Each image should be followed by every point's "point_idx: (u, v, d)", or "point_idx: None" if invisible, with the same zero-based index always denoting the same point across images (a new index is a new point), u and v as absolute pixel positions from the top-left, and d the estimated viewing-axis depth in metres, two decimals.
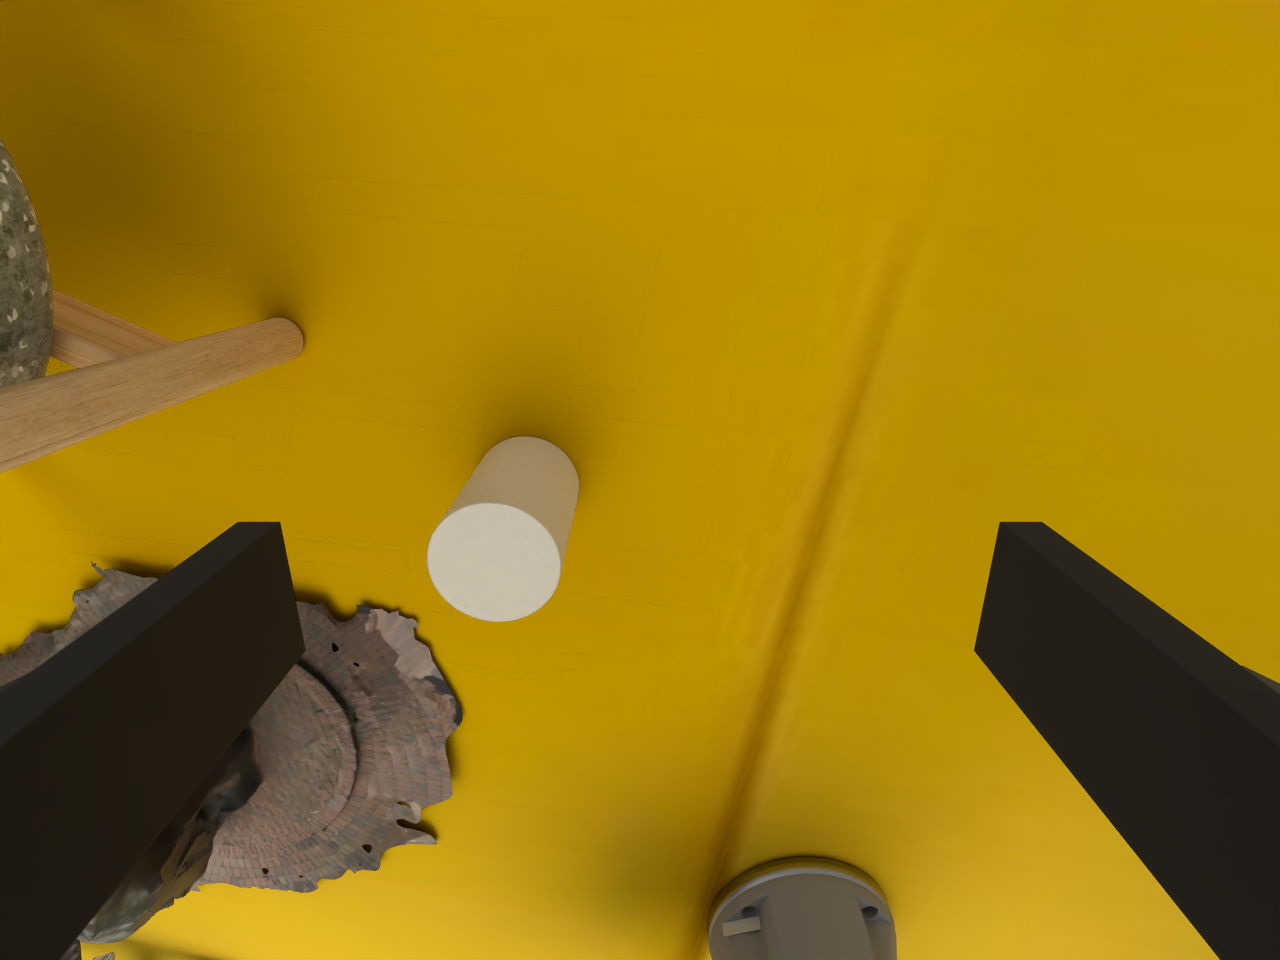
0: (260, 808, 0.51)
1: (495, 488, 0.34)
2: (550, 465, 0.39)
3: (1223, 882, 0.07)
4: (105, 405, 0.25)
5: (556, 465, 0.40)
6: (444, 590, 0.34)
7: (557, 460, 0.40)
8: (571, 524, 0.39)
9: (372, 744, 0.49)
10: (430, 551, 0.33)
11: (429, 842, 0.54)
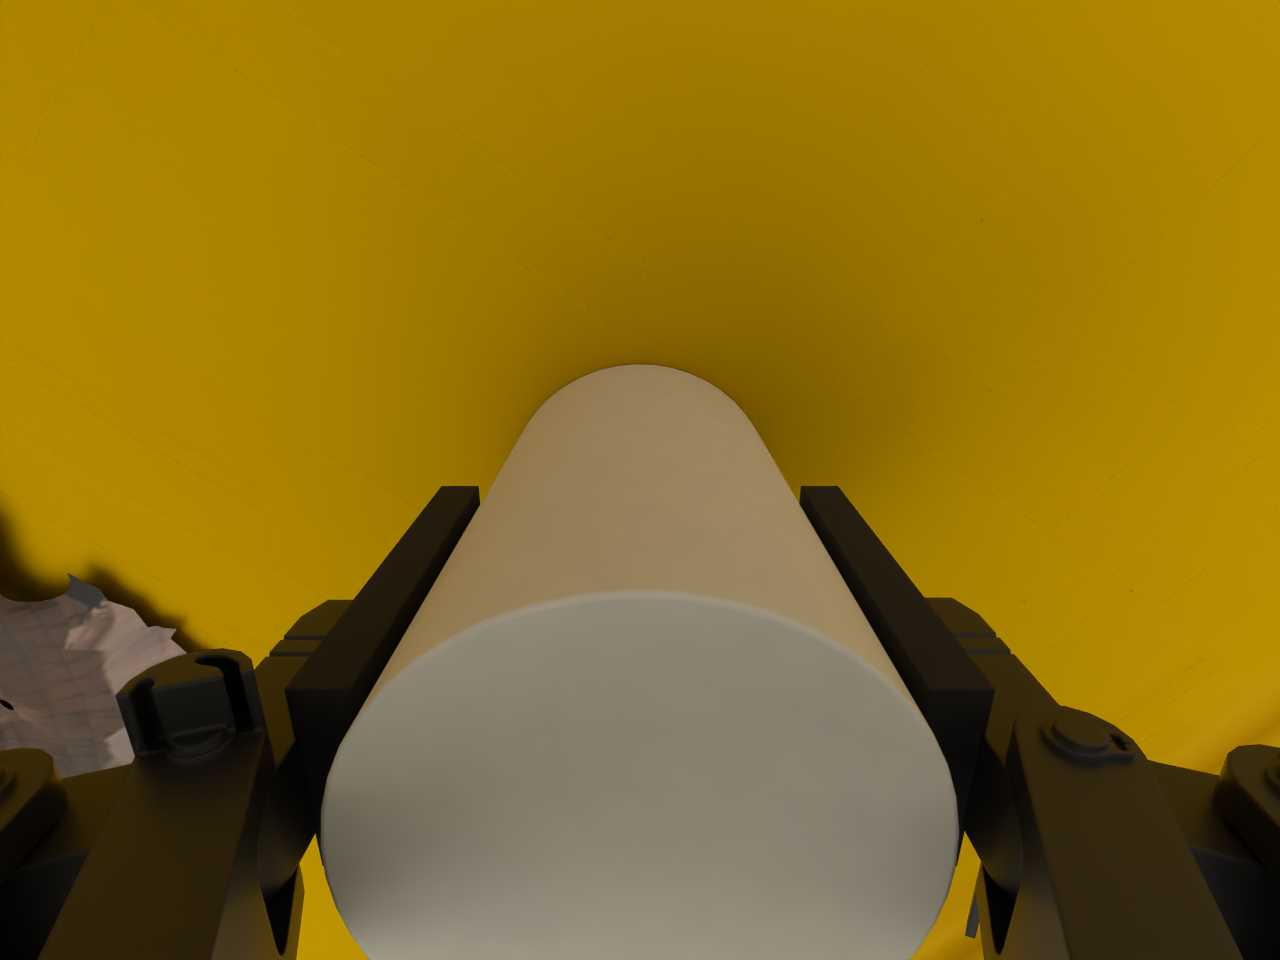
0: None
1: (766, 535, 0.08)
2: None
3: None
4: None
5: None
6: (359, 879, 0.07)
7: None
8: None
9: None
10: (387, 711, 0.06)
11: None
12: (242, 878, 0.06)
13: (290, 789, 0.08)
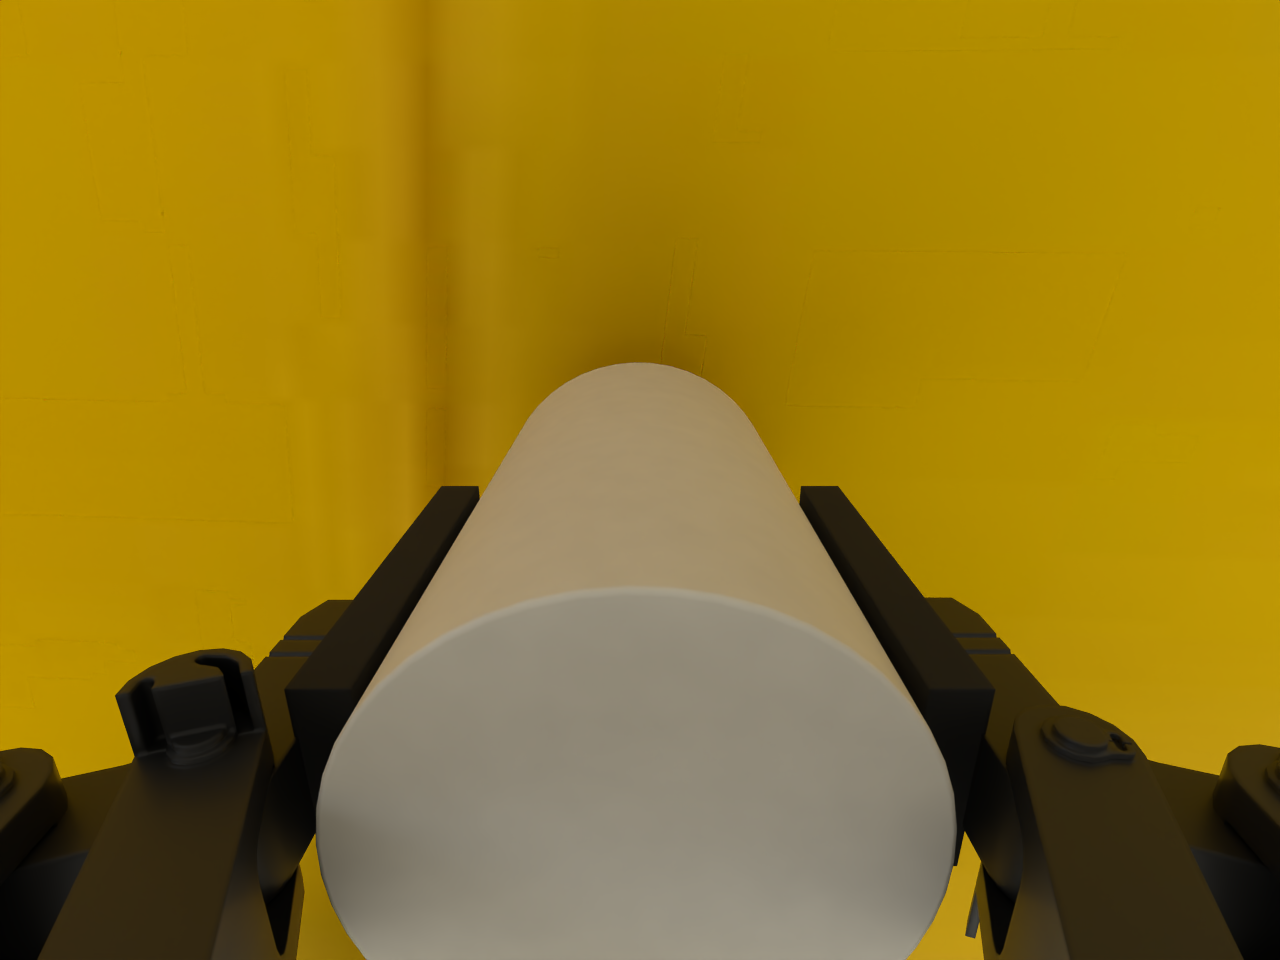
0: None
1: (763, 532, 0.08)
2: None
3: None
4: None
5: None
6: (354, 877, 0.07)
7: None
8: None
9: None
10: (382, 708, 0.06)
11: None
12: (242, 878, 0.06)
13: (290, 789, 0.08)
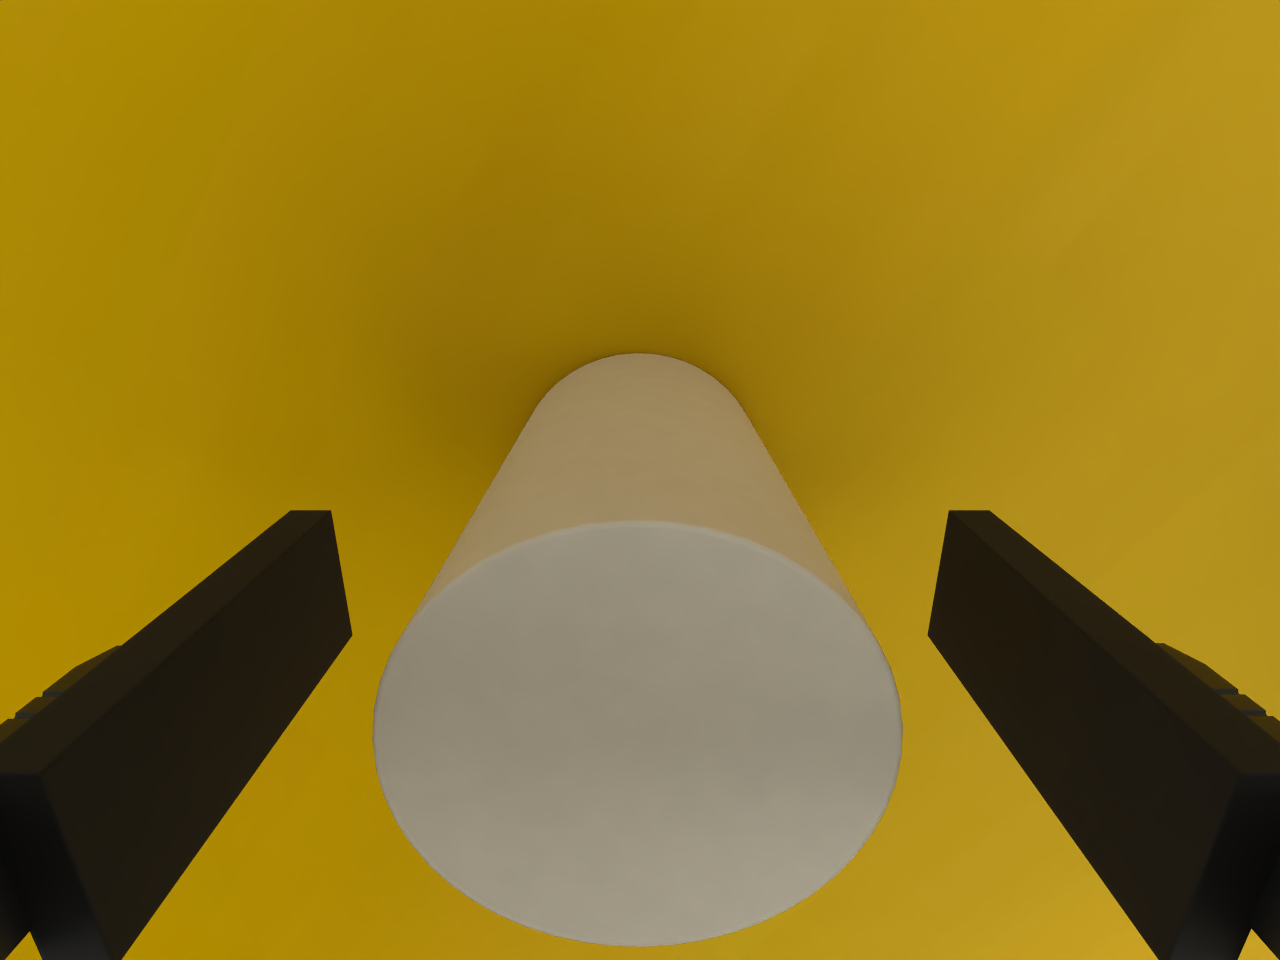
0: None
1: (744, 488, 0.09)
2: None
3: (1128, 841, 0.08)
4: None
5: None
6: (404, 770, 0.08)
7: None
8: None
9: None
10: (432, 622, 0.08)
11: None
12: None
13: None
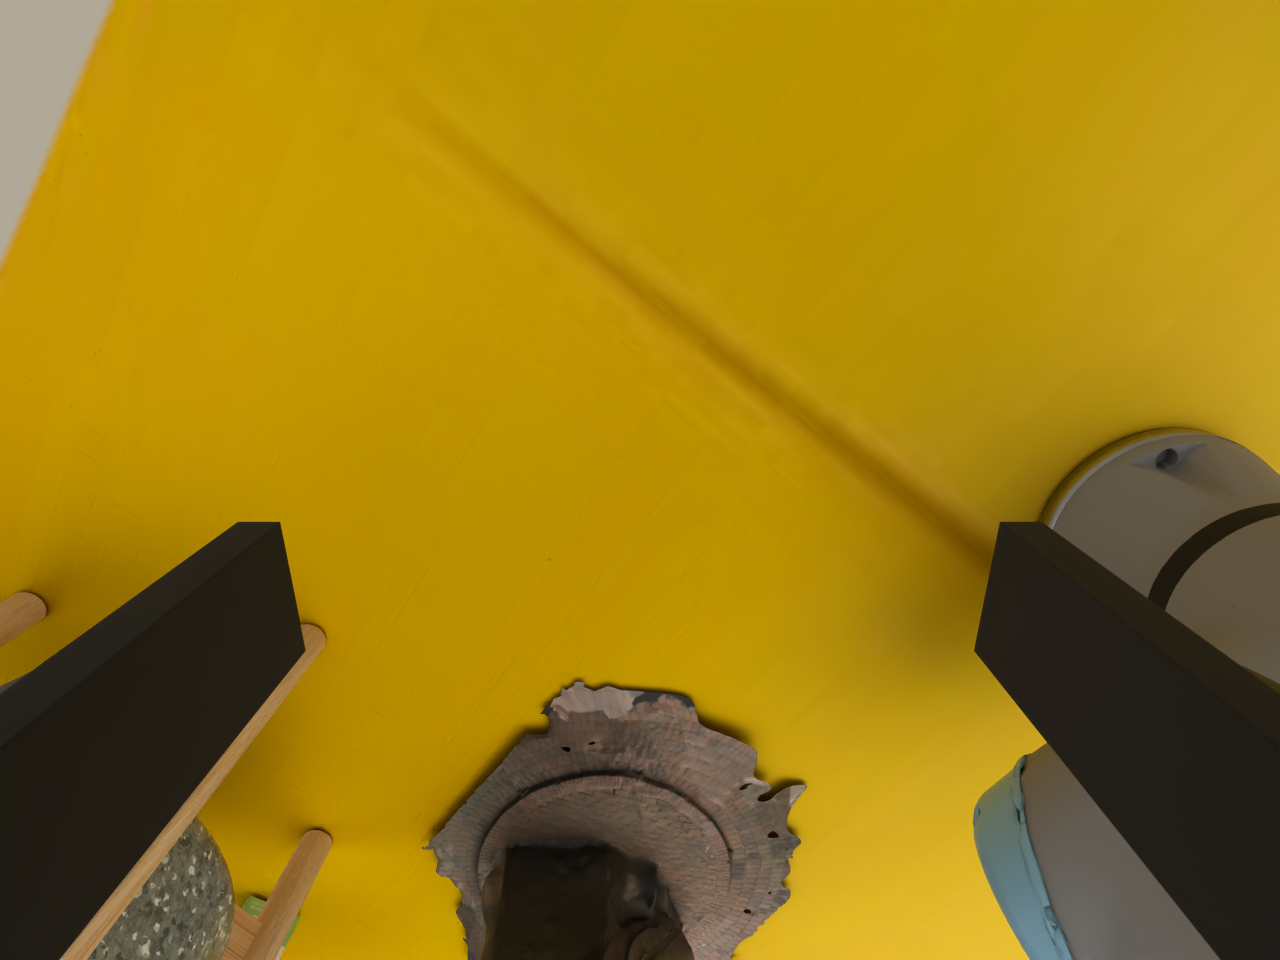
0: (680, 879, 0.56)
1: None
2: None
3: (1223, 882, 0.07)
4: None
5: None
6: None
7: None
8: None
9: (671, 774, 0.53)
10: None
11: (802, 789, 0.54)
12: None
13: None
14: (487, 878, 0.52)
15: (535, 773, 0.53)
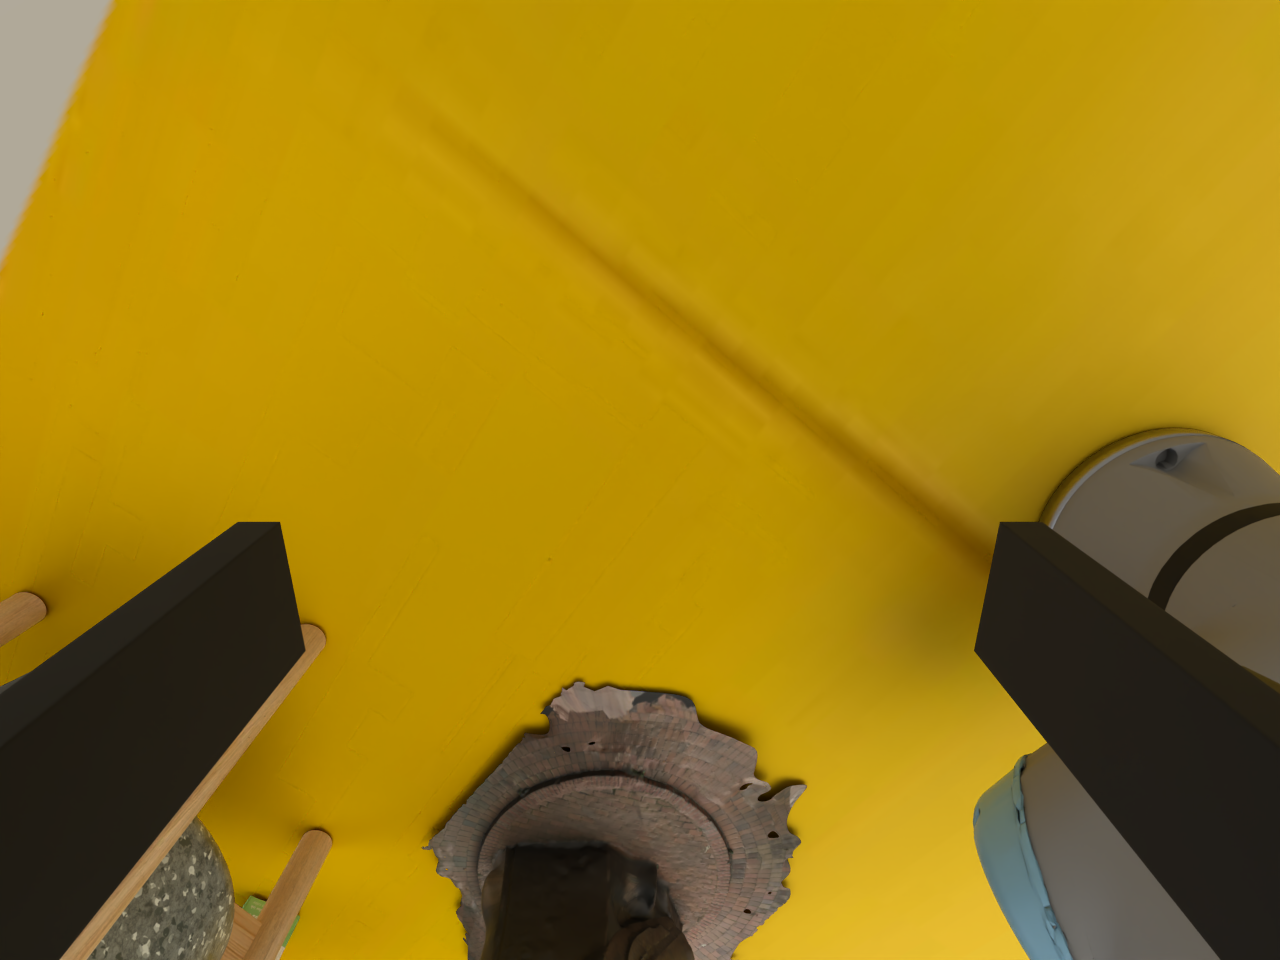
0: (680, 879, 0.56)
1: None
2: None
3: (1223, 882, 0.07)
4: None
5: None
6: None
7: None
8: None
9: (671, 774, 0.53)
10: None
11: (802, 789, 0.54)
12: None
13: None
14: (487, 878, 0.52)
15: (535, 773, 0.53)
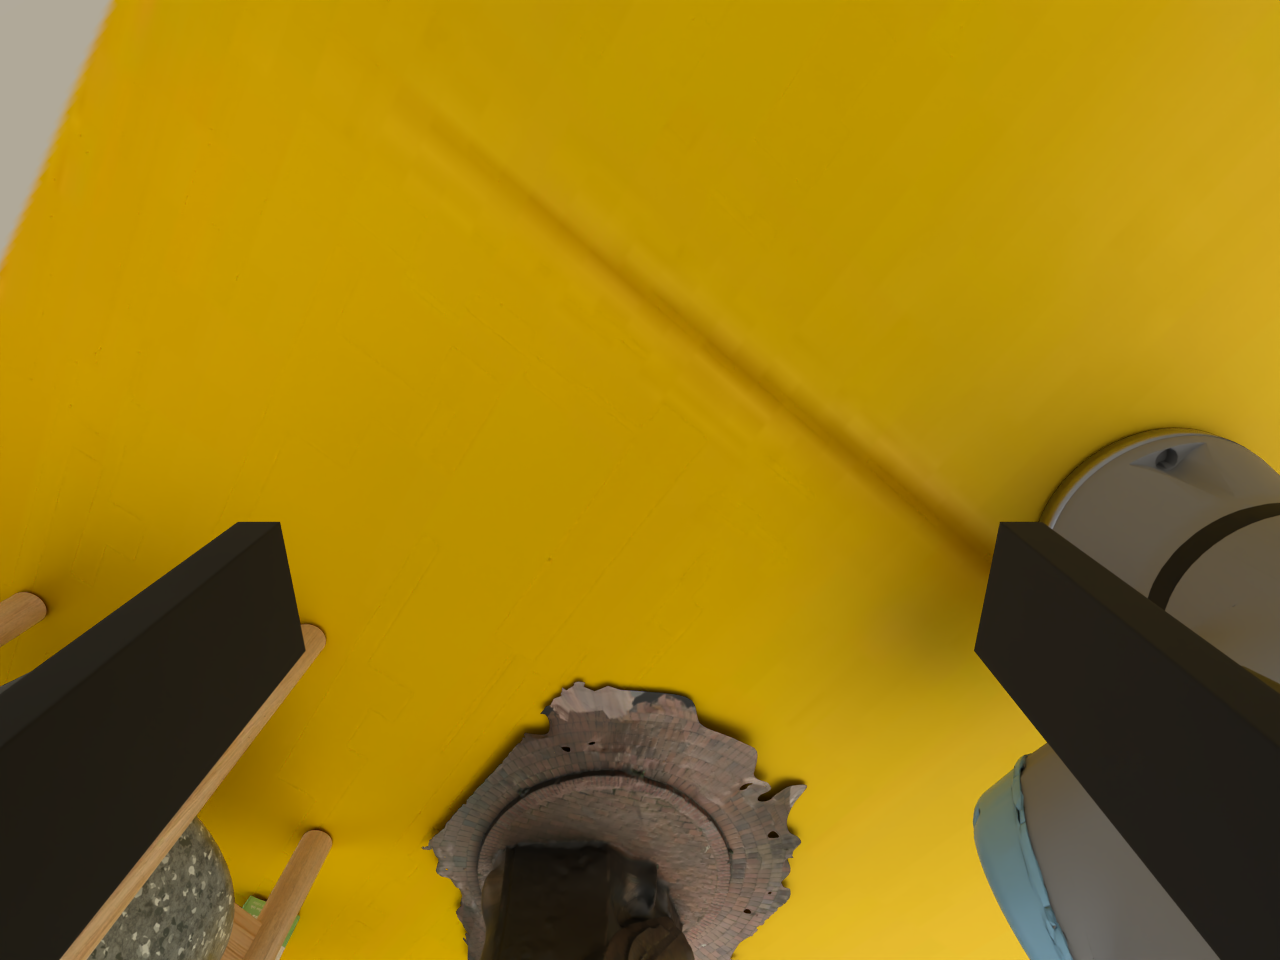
0: (680, 879, 0.56)
1: None
2: None
3: (1223, 882, 0.07)
4: None
5: None
6: None
7: None
8: None
9: (671, 774, 0.53)
10: None
11: (802, 789, 0.54)
12: None
13: None
14: (487, 878, 0.52)
15: (535, 773, 0.53)
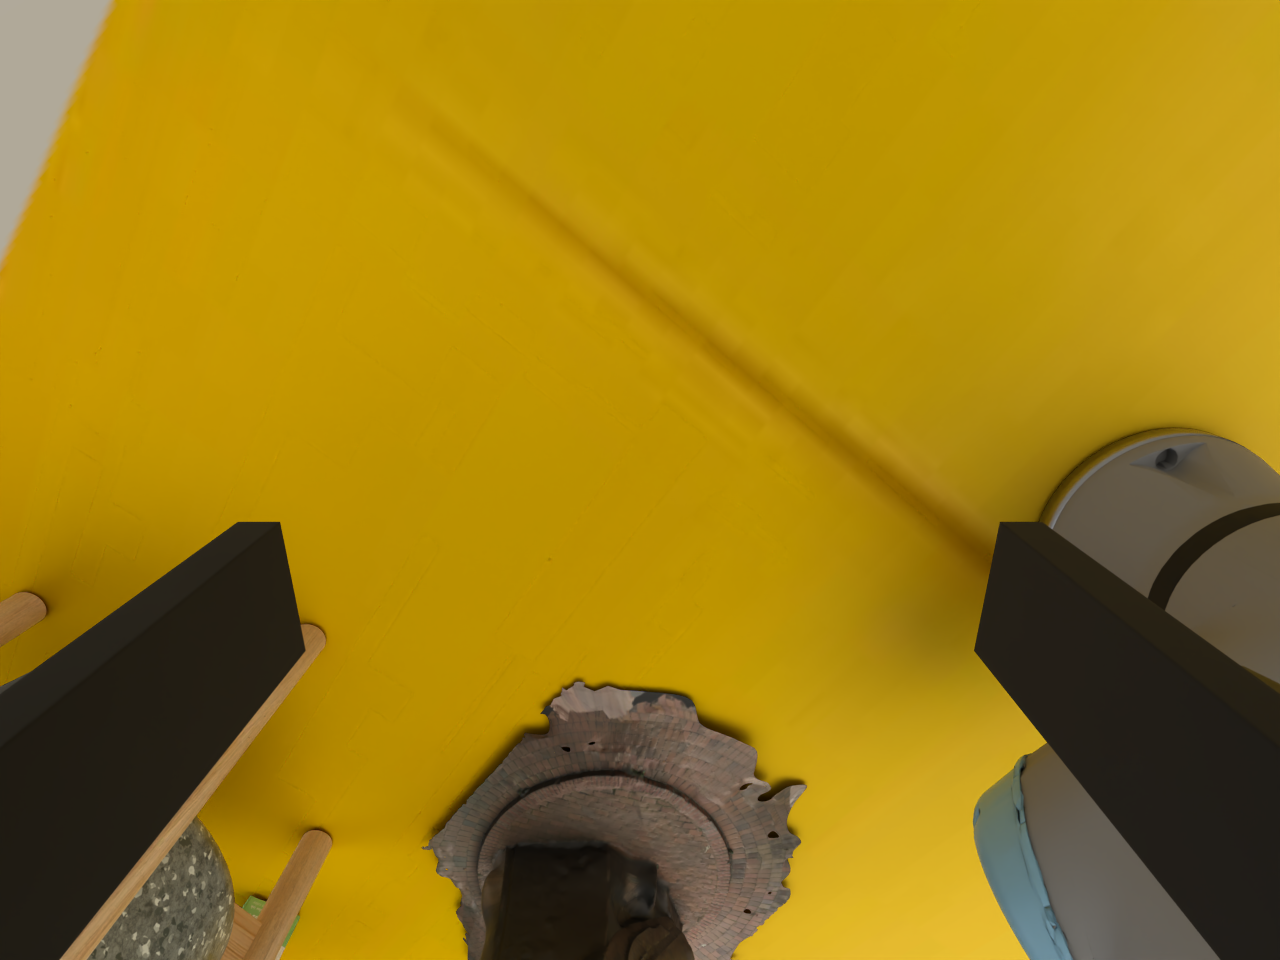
0: (680, 879, 0.56)
1: None
2: None
3: (1223, 882, 0.07)
4: None
5: None
6: None
7: None
8: None
9: (671, 774, 0.53)
10: None
11: (802, 789, 0.54)
12: None
13: None
14: (487, 878, 0.52)
15: (535, 773, 0.53)
